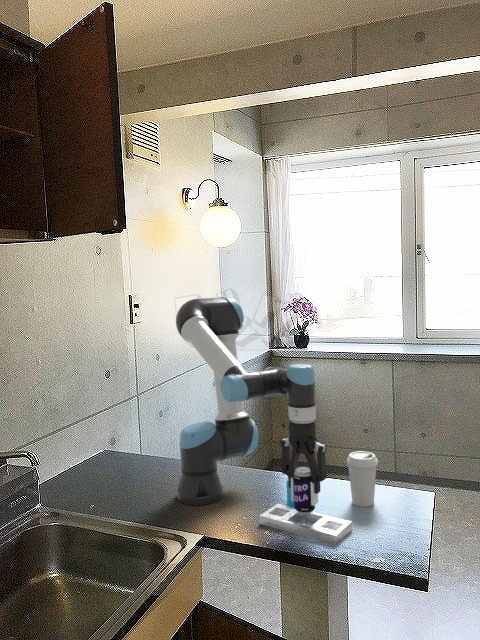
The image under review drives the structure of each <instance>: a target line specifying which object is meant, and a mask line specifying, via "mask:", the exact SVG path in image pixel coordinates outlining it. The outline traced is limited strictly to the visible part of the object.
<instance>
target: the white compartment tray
mask: <svg viewBox="0 0 480 640" xmlns="http://www.w3.org/2000/svg"><path fill="white" fill-rule="evenodd" d="M299 520H302V521H306V522H310V523H313V524H312V525H311V526H308V525H305V524H301V523H297V522H299ZM259 524H260V525H263V526H265V527H269V528H274V529H276V530H280V531H284V532H287V533H291V534H295V535H298V536H303V537H306V538H310V539H312V540H316V541H320V542H324V543H326V544H330V545H331V544H332V545H335V546H337V545H338V544H339V543H340V542H341V541H342V540H344V538H345V537H346V536H348V535H349V533H351V532H352V531H353V521H351V520H348V519H343V518H339V517H336V516H331V515H327V514H322V513H319V512H315V511H312V512H311V513H309V514H300V513H298V512H297V511H296V510H295V507H291V506H288V505H287V504H282V503H276V504H275V505H274V506H272V507H270V508H268V509H267V510H266V511H264V512H263V513H261V514H260V515H259Z"/></svg>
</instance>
